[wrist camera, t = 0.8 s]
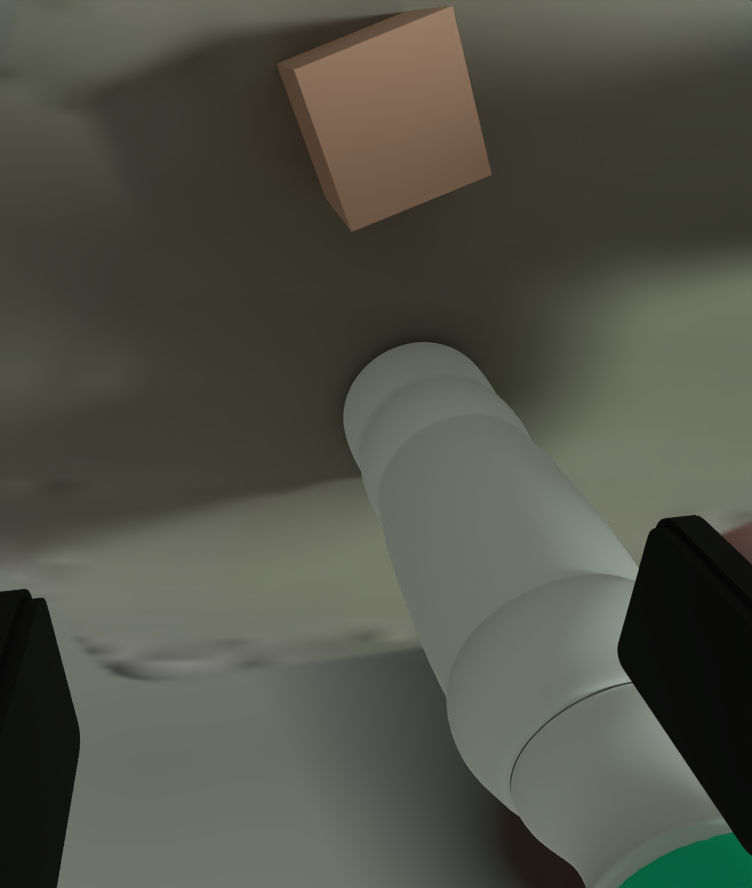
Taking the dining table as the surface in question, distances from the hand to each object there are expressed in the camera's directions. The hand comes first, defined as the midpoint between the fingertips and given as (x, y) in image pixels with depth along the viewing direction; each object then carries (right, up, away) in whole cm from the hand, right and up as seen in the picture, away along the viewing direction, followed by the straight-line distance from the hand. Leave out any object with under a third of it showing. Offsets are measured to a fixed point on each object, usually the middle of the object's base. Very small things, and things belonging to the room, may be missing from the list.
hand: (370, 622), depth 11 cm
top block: (0, +16, +16) cm, 22 cm away
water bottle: (+2, +5, +23) cm, 24 cm away
